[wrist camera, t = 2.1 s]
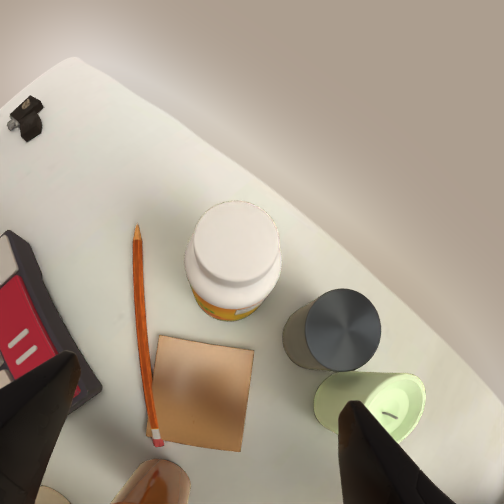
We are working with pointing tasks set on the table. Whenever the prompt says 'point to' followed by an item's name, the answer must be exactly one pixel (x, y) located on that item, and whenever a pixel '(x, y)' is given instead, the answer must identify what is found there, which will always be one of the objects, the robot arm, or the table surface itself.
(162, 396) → the cork pad
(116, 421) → the table surface
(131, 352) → the table surface
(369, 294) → the table surface
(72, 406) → the calculator
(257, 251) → the supplement bottle
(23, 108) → the lighter
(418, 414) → the candle
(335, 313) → the grey tin
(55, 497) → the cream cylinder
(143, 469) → the amber bottle
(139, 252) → the pencil
